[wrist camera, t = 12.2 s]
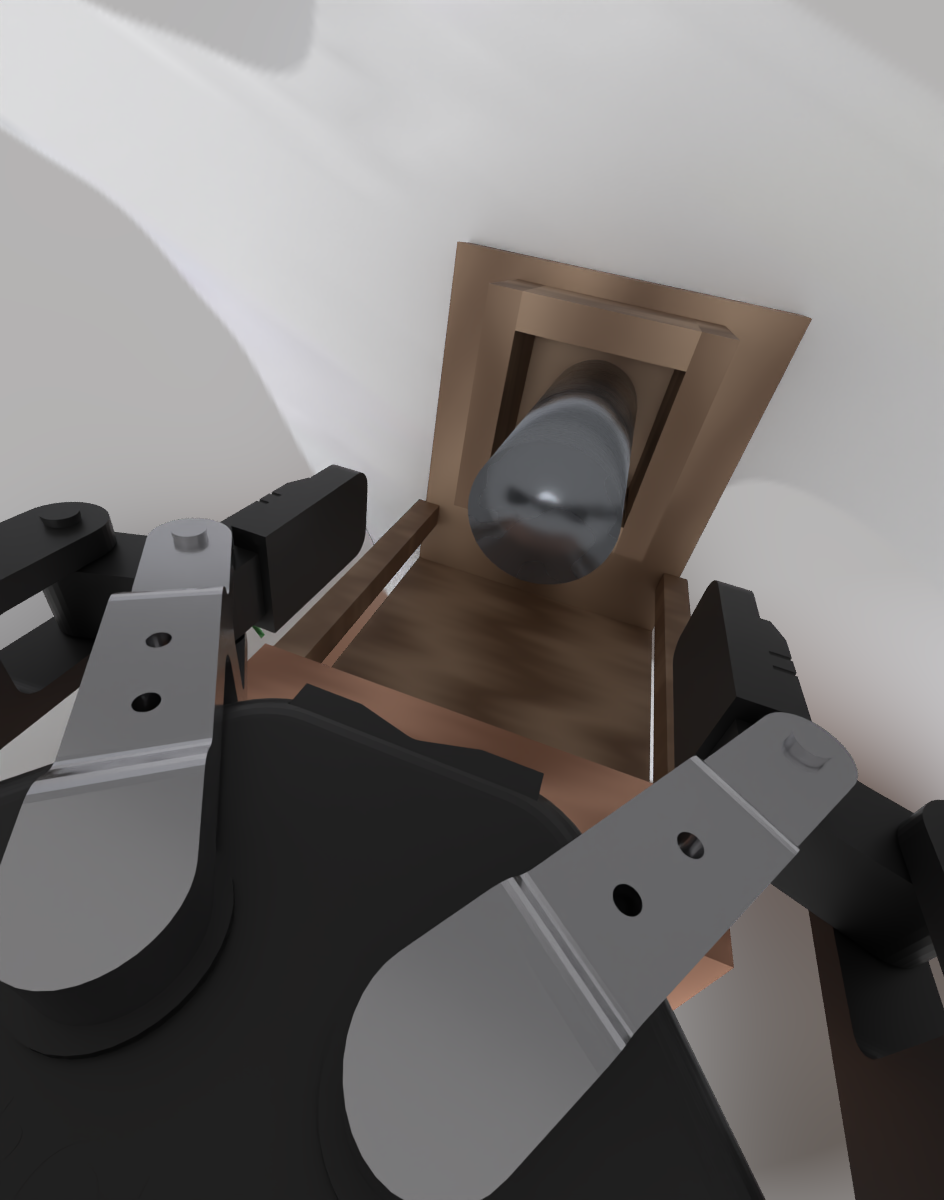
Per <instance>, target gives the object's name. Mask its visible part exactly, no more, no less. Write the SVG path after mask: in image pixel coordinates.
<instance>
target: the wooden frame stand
mask: <svg viewBox="0 0 944 1200" xmlns="http://www.w3.org/2000/svg"><path fill="white" fill-rule="evenodd" d="M811 320H812V319H811V318H809V317H806V316H803V315H799V314H795V313H790V312H785V311H781V310H776V309H772V308H767V307H762V306H758V305H753V304H749V303H744V302H739V301H735V300H730V299H726V298H721V297H716V296H712V295H707V294H703V293H698V292H693V291H689V290H684V289H680V288H675V287H670V286H666V285H661V284H656V283H652V282H647V281H643V280H638V279H633V278H629V277H624V276H620V275H615V274H610V273H606V272H601V271H597V270H592V269H587V268H583V267H578V266H574V265H569V264H564V263H560V262H555V261H551V260H546V259H541V258H537V257H532V256H527V255H523V254H518V253H514V252H509V251H504V250H500V249H495V248H491V247H486V246H481V245H477V244H472V243H466V242H457V250H456V258H455V267H454V275H453V283H452V291H451V300H450V308H449V316H448V324H447V333H446V341H445V349H444V358H443V366H442V374H441V382H440V391H439V399H438V407H437V415H436V424H435V432H434V440H433V449H432V457H431V465H430V473H429V482H428V490H427V498H426V501H423V500H420V499H419V500H418V501H417V502H416V503H415V504H414V505H413V506H412V507H411V508H410V509H409V510H408V511H407V512H406V513H405V514H404V515H403V516H402V517H401V518H400V519H399V520H398V521H397V522H396V523H395V524H394V525H393V526H392V527H391V528H390V529H389V530H388V531H387V532H386V533H385V534H384V535H383V536H382V537H381V538H380V539H379V540H378V541H377V542H376V543H375V544H374V545H373V546H372V547H371V548H370V549H369V551H368V552H367V553H366V554H365V555H364V556H363V557H362V558H361V559H360V560H359V561H358V562H357V563H356V564H355V565H354V566H353V567H352V568H351V569H350V570H349V571H348V572H347V573H346V574H345V575H344V576H343V577H342V578H341V579H340V580H339V581H338V582H337V583H336V584H335V585H334V586H333V587H332V588H331V589H330V590H329V591H328V592H327V593H326V594H325V595H324V596H323V597H322V598H321V599H320V600H319V601H318V602H317V603H316V604H315V605H314V606H313V607H312V608H311V609H310V610H309V611H308V612H307V613H306V614H305V615H304V616H303V617H302V618H301V619H300V620H299V621H298V622H297V623H296V624H295V625H294V626H293V627H292V628H291V629H290V630H289V631H288V632H287V633H286V634H285V635H284V636H283V637H282V638H281V639H280V640H279V641H278V642H277V643H276V644H275V645H274V646H271V645H269V644H266V643H265V644H264V645H263V646H262V647H261V648H260V649H259V650H258V651H257V652H256V653H255V654H254V655H253V656H252V657H251V658H250V659H249V660H248V667H247V700H252V699H262V698H284V699H294V697H295V696H296V695H297V694H298V693H299V692H300V690H301V689H302V688H303V687H304V686H305V684H306V683H308V684H311V685H313V686H316V687H319V688H321V689H324V690H326V691H329V692H332V693H334V694H337V695H340V696H342V697H345V698H347V699H350V700H353V701H355V702H358V703H361V704H362V705H364V706H365V707H367V708H368V709H370V710H371V711H373V712H374V713H376V714H377V715H378V716H380V717H381V718H383V719H384V720H386V721H387V722H389V723H390V724H392V725H393V726H395V727H396V728H397V729H399V730H400V731H402V732H403V733H405V734H406V735H408V736H409V737H411V738H413V739H416V740H420V741H426V742H433V743H439V744H446V745H453V746H460V747H466V748H473V749H480V750H484V751H486V752H489V753H492V754H494V755H497V756H500V757H502V758H505V759H507V760H510V761H513V762H515V763H518V764H521V765H523V766H526V767H528V768H531V769H534V770H536V771H539V772H542V773H544V776H543V780H542V784H541V788H540V793H539V794H541V795H542V796H543V797H545V798H546V799H548V800H549V801H551V802H552V803H553V804H554V805H555V806H556V807H558V808H559V809H560V810H561V811H562V812H563V813H564V814H565V815H566V816H567V817H568V818H569V819H570V820H571V821H572V822H573V823H574V824H575V825H576V826H577V828H578V829H579V830H580V832H581V833H582V834H583V833H584V832H586V831H587V830H588V829H590V828H591V827H593V826H594V825H596V824H597V823H598V822H600V821H601V820H603V819H604V818H606V817H607V816H608V815H610V814H611V813H613V812H614V811H615V810H617V809H618V808H620V807H621V806H623V805H624V804H625V803H627V802H628V801H630V800H631V799H633V798H634V797H635V796H637V795H638V794H640V793H641V792H642V791H644V790H645V789H647V788H648V787H650V786H651V785H652V784H654V783H655V782H657V781H658V780H660V779H661V778H662V777H664V776H665V775H667V774H668V773H669V772H671V771H672V770H674V769H675V767H674V708H673V656H674V652H675V648H676V645H677V642H678V640H679V638H680V636H681V634H682V632H683V630H684V628H685V626H686V625H687V623H688V621H689V619H690V617H691V616H690V615H691V614H690V603H689V593H688V581H687V580H686V579H683V578H680V575H681V573H682V572H683V570H684V568H685V566H686V563H687V562H688V560H689V558H690V556H691V554H692V552H693V550H694V548H695V546H696V544H697V542H698V540H699V538H700V536H701V534H702V532H703V531H704V529H705V527H706V525H707V523H708V521H709V519H710V517H711V515H712V513H713V511H714V509H715V507H716V505H717V503H718V501H719V499H720V497H721V495H722V493H723V492H724V490H725V488H726V486H727V484H728V482H729V480H730V478H731V476H732V474H733V472H734V470H735V468H736V466H737V464H738V462H739V460H740V458H741V456H742V454H743V453H744V451H745V449H746V447H747V445H748V443H749V441H750V439H751V437H752V435H753V433H754V431H755V429H756V427H757V425H758V423H759V421H760V419H761V417H762V415H763V413H764V412H765V410H766V408H767V406H768V404H769V402H770V400H771V398H772V396H773V394H774V392H775V390H776V388H777V386H778V384H779V382H780V380H781V378H782V376H783V374H784V372H785V371H786V369H787V367H788V365H789V363H790V361H791V359H792V357H793V355H794V353H795V351H796V349H797V347H798V345H799V343H800V341H801V339H802V337H803V335H804V333H805V332H806V330H807V328H808V326H809V324H810V322H811ZM586 360H602V361H607V362H610V363H612V364H614V365H616V366H618V367H619V368H621V369H622V370H623V371H624V372H625V373H626V374H627V375H628V376H629V378H630V379H631V381H632V383H633V385H634V387H635V390H636V394H637V413H636V421H635V428H634V435H633V443H632V450H631V457H630V465H629V472H628V480H627V487H626V494H625V502H624V509H623V517H622V524H621V530H620V534H619V537H618V540H617V543H616V545H615V547H614V549H613V550H612V552H611V553H610V555H609V556H608V558H607V559H606V560H605V561H604V562H603V563H602V564H601V565H600V566H599V567H598V568H596V569H595V570H594V571H592V572H591V573H589V574H588V575H586V576H584V577H582V578H580V579H577V580H574V581H571V582H567V583H562V584H553V585H547V584H536V583H531V582H527V581H523V580H520V579H518V578H515V577H513V576H511V575H509V574H507V573H506V572H504V571H503V570H501V569H500V568H498V567H497V566H496V565H495V564H493V563H492V562H491V561H490V560H489V559H488V558H487V557H486V555H485V554H484V553H483V551H482V550H481V549H480V547H479V546H478V544H477V542H476V540H475V538H474V536H473V533H472V531H471V527H470V524H469V517H468V501H469V495H470V491H471V487H472V485H473V482H474V480H475V478H476V476H477V475H478V473H479V471H480V470H481V469H482V468H483V466H484V465H485V464H486V463H487V461H488V460H489V459H490V458H491V457H492V455H493V454H494V453H495V452H496V451H497V450H498V448H499V447H500V446H501V445H502V444H503V442H504V441H505V440H506V439H507V438H508V436H509V435H510V434H511V433H512V432H513V430H514V429H515V428H516V427H517V426H518V425H519V423H520V422H521V421H522V420H523V419H524V417H525V416H526V415H527V414H528V413H529V411H530V410H531V409H532V408H533V407H534V405H535V404H536V403H537V402H538V401H539V399H540V398H541V397H542V396H543V395H544V394H545V392H546V391H547V390H548V389H549V388H550V386H551V385H552V384H553V383H554V382H555V380H556V379H557V378H558V377H559V376H560V375H561V374H562V373H563V372H564V371H565V370H566V369H568V368H569V367H571V366H573V365H574V364H577V363H579V362H583V361H586ZM420 544H421V548H420V556H419V558H418V560H417V561H416V562H415V563H414V565H413V566H412V567H411V568H410V570H409V571H408V572H407V573H406V575H405V576H404V577H403V578H402V580H401V581H400V582H399V583H398V584H397V586H396V587H395V588H394V589H393V591H392V592H391V593H390V594H389V596H388V597H387V598H386V600H385V601H384V602H383V603H382V605H381V606H380V607H379V608H378V609H377V611H376V612H375V613H374V615H373V616H372V617H371V618H370V620H369V621H368V622H367V623H366V624H365V626H364V627H363V629H361V631H360V632H359V633H358V635H357V636H356V637H355V638H354V639H353V641H352V642H351V643H350V645H349V646H348V647H347V648H346V650H345V651H344V652H343V653H342V654H341V656H340V657H339V658H338V659H337V661H336V662H335V663H334V665H333V666H332V667H329V666H327V665H324V664H321V663H322V662H323V660H324V659H325V658H326V657H327V656H328V654H329V653H330V652H331V651H332V650H333V648H334V647H335V646H336V645H337V644H338V642H339V641H340V640H341V639H342V638H343V636H344V635H345V634H346V633H347V632H348V630H349V629H350V628H351V627H352V626H353V624H354V623H355V622H356V621H357V620H358V618H359V617H360V616H361V615H362V614H363V612H364V611H365V610H366V609H367V608H368V606H369V605H370V604H371V603H372V602H373V600H374V599H375V598H376V597H377V596H378V594H379V593H380V592H381V591H382V590H383V588H384V587H385V586H386V585H387V584H388V582H389V581H390V580H391V579H392V578H393V577H394V575H395V574H396V573H397V572H398V571H399V569H400V568H401V567H402V566H403V565H404V563H405V562H406V561H407V560H408V559H409V557H410V556H411V555H412V554H413V553H414V551H415V550H416V549H417V548H418V547H419V545H420ZM654 626H655V647H654V650H655V651H654V652H655V653H654V757H653V783H650V720H651V659H652V630H653V628H654ZM733 968H734V964H733V955H732V946H731V936H730V928H729V929H728V930H727V931H726V932H725V934H724V935H723V936H722V937H721V938H720V939H719V940H718V941H717V942H716V943H715V945H714V946H713V947H712V948H711V949H710V950H709V951H708V952H707V953H706V954H705V956H704V957H703V958H702V959H701V960H700V961H699V962H698V963H697V964H696V965H695V967H694V968H693V969H692V970H691V971H690V972H689V973H688V974H687V975H686V977H685V978H684V979H683V980H682V981H681V982H680V983H679V984H678V985H677V986H676V988H675V989H674V990H673V991H672V992H671V993H670V994H669V995H668V996H667V999H668V1001H669V1003H670V1006H671V1008H672V1010H675V1009H676V1008H677V1007H679V1006H680V1005H682V1004H683V1003H685V1002H686V1001H687V1000H689V999H690V998H692V997H693V996H694V995H696V994H697V993H699V992H700V991H701V990H703V989H704V988H706V987H707V986H709V985H710V984H711V983H713V982H714V981H716V980H717V979H719V978H720V977H721V976H723V975H724V974H726V973H727V972H729V971H730V970H731V969H733Z"/></svg>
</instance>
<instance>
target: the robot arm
mask: <svg viewBox="0 0 944 1200" xmlns="http://www.w3.org/2000/svg"><path fill="white" fill-rule="evenodd" d="M366 511H367V478H366V476H365V474H363V473H361V472H358V471H354V470H351V469H348V468H344V467H341V466H338V465H331V466H329V467H327V468H325V469H324V470H322V471H321V472H319V473H317V474H316V475H314V476H312V477H311V478H306V479H302V480H298V481H294V482H290V483H287V484H285V485H283V486H282V487H280V488H278V489H276V490H275V491H273V492H272V494H268V495H266V496H265V497H263V498H261V499H260V501H259V502H258V501H256V502H254V503H253V504H251V505H249V506H247V507H245V508H244V509H242V510H240V511H239V512H237V513H235V514H233V515H232V516H230V517H228V518H227V519H225V520H223V521H221V522H218V521H214V520H210V519H203V518H186V519H178V520H174V521H170V522H167V523H164V524H162V525H160V526H158V527H156V528H155V529H153V530H152V531H151V532H150V533H149V534H148V536H144V535H136V534H127V533H119V532H114V530H113V526H112V523H111V520H110V517H109V514H108V512H107V511H106V510H105V509H104V508H102V507H100V506H97V505H94V504H90V503H83V502H64V503H54V504H49V505H44V506H41V507H37V508H34V509H31V510H29V511H27V512H24V513H22V514H19V515H17V516H15V517H13V518H10V519H8V520H5V521H3V522H1V523H0V615H1V614H3V613H4V612H6V611H7V610H9V609H11V608H13V607H14V606H16V605H18V604H20V603H21V602H23V601H25V600H27V599H28V598H30V597H32V596H33V595H35V594H37V593H39V592H40V591H42V590H43V593H44V595H45V597H46V599H47V602H48V604H49V606H50V608H51V610H52V613H53V615H54V617H53V618H51V619H50V620H48V621H47V622H45V623H43V624H41V625H40V626H39V627H37V628H35V629H33V630H32V631H30V632H29V633H28V634H26V635H24V636H22V637H21V638H19V639H18V640H16V641H14V642H13V643H11V644H10V645H8V646H7V647H5V648H3V649H2V650H0V750H1V749H2V748H3V747H5V746H6V745H7V744H8V743H10V742H11V741H12V740H13V739H15V738H16V737H17V736H19V735H20V734H21V733H22V732H24V731H25V730H26V729H27V728H29V727H30V726H31V725H33V724H34V723H35V722H36V721H38V720H39V719H40V718H41V717H43V716H44V715H45V714H46V713H48V712H49V711H50V710H52V709H53V708H54V707H55V706H57V705H58V704H59V703H60V702H62V701H63V700H64V699H65V698H67V697H68V696H69V695H71V694H72V693H73V692H74V691H76V690H77V689H78V688H79V690H78V693H77V696H76V699H75V702H74V705H73V708H72V711H71V714H70V717H69V720H68V723H67V726H66V729H65V732H64V735H63V738H62V741H61V744H60V747H59V750H58V753H57V756H56V759H55V761H54V763H52V764H49V765H46V766H43V767H40V768H37V769H34V770H31V771H29V772H26V773H23V774H20V775H17V776H14V777H11V778H8V779H5V780H2V781H0V1200H765V1198H764V1196H763V1194H762V1192H761V1190H760V1188H759V1186H758V1183H757V1181H756V1179H755V1177H754V1175H753V1173H752V1171H751V1169H750V1167H749V1165H748V1163H747V1161H746V1159H745V1157H744V1155H743V1153H742V1151H741V1149H740V1147H739V1145H738V1143H737V1140H736V1138H735V1137H734V1135H733V1132H732V1131H731V1128H730V1127H729V1124H728V1122H727V1120H726V1118H725V1116H724V1114H723V1112H722V1110H721V1108H720V1106H719V1104H718V1102H717V1100H716V1098H715V1095H714V1094H713V1091H712V1089H711V1087H710V1085H709V1083H708V1081H707V1079H706V1077H705V1075H704V1073H703V1071H702V1069H701V1067H700V1065H699V1063H698V1061H697V1059H696V1057H695V1055H694V1053H693V1050H692V1049H691V1046H690V1044H689V1042H688V1040H687V1038H686V1036H685V1034H684V1032H683V1030H682V1028H681V1026H680V1024H679V1022H678V1020H677V1018H676V1016H675V1014H674V1012H673V1010H672V1008H671V1006H670V1003H669V1001H668V999H667V996H668V995H669V994H670V993H671V992H672V991H673V990H674V989H675V988H676V986H677V985H678V984H679V983H680V982H681V981H682V980H683V979H684V978H685V977H686V975H687V974H688V973H689V972H690V971H691V970H692V969H693V968H694V967H695V965H696V964H697V963H698V962H699V961H700V960H701V959H702V958H703V957H704V956H705V954H706V953H707V952H708V951H709V950H710V949H711V948H712V947H713V946H714V945H715V943H716V942H717V941H718V940H719V939H720V938H721V937H722V936H723V935H724V934H725V932H726V931H727V930H728V929H729V928H730V927H731V926H732V925H733V924H734V923H735V921H736V920H737V919H738V918H739V917H740V916H741V915H742V914H743V913H744V911H745V910H746V909H747V908H748V907H749V906H750V905H751V904H752V903H753V901H755V899H756V898H757V897H758V896H759V895H760V894H761V893H762V892H763V891H764V889H765V888H766V887H767V886H768V885H769V884H770V883H771V884H772V885H773V886H775V887H777V888H778V889H779V890H781V891H782V892H784V893H785V894H787V895H788V896H789V897H791V898H792V899H794V900H795V901H797V902H798V903H799V904H801V905H802V906H804V907H805V908H807V909H808V910H809V916H810V921H811V928H812V934H813V941H814V947H815V952H816V959H817V965H818V971H819V977H820V983H821V990H822V996H823V1002H824V1008H825V1014H826V1021H827V1027H828V1033H829V1039H830V1045H831V1051H832V1057H833V1064H834V1070H835V1076H836V1082H837V1088H838V1094H839V1101H840V1107H841V1113H842V1119H843V1125H844V1132H845V1138H846V1144H847V1150H848V1156H849V1162H850V1169H851V1175H852V1181H853V1187H854V1193H855V1199H856V1200H944V1008H943V1005H942V1002H941V999H940V996H939V993H938V990H937V987H936V983H935V980H934V977H933V974H932V971H931V968H930V965H929V962H928V961H929V960H931V959H933V958H935V957H937V958H938V961H939V963H940V966H941V969H942V972H943V975H944V800H934V801H931V802H929V803H927V804H926V805H924V806H923V807H922V808H921V809H919V810H918V811H917V812H915V813H912V812H911V811H909V810H907V809H905V808H904V807H902V806H900V805H898V804H897V803H895V802H893V801H891V800H890V799H888V798H886V797H884V796H883V795H881V794H879V793H877V792H875V791H874V790H872V789H870V788H869V787H867V786H865V785H864V784H862V783H861V782H859V781H858V780H857V778H858V772H857V768H856V764H855V762H854V760H853V758H852V757H851V755H850V754H849V752H848V751H847V750H846V748H845V747H844V746H843V745H842V744H841V743H840V742H839V741H838V740H837V739H836V738H835V737H834V736H832V735H831V734H830V733H829V732H827V731H826V730H825V729H823V728H822V727H820V726H818V725H817V724H815V723H813V722H812V721H811V718H810V714H809V711H808V708H807V705H806V702H805V698H804V695H803V692H802V689H801V686H800V683H799V680H798V677H797V676H795V675H796V670H795V667H794V664H793V662H792V661H791V654H790V651H789V648H788V645H787V642H786V640H785V639H784V637H783V636H782V635H781V634H780V632H779V631H778V630H777V629H776V628H775V627H774V625H773V624H772V623H771V622H770V621H767V620H763V619H761V618H760V616H759V612H758V609H757V605H756V601H755V597H754V594H753V592H752V591H750V590H746V589H743V588H740V587H736V586H733V585H729V584H726V583H723V582H719V581H715V580H714V581H713V582H711V584H710V585H709V586H708V587H707V589H706V591H705V592H704V594H703V596H702V598H701V600H700V601H699V603H698V605H697V607H696V609H695V610H694V612H693V614H692V616H691V617H690V619H689V621H688V623H687V625H686V626H685V628H684V630H683V632H682V634H681V636H680V638H679V640H678V642H677V645H676V648H675V652H674V656H673V708H674V767H675V769H674V770H672V771H671V772H669V773H668V774H667V775H665V776H664V777H662V778H661V779H660V780H658V781H657V782H655V783H654V784H652V785H651V786H650V787H648V788H647V789H645V790H644V791H642V792H641V793H640V794H638V795H637V796H635V797H634V798H633V799H631V800H630V801H628V802H627V803H625V804H624V805H623V806H621V807H620V808H618V809H617V810H615V811H614V812H613V813H611V814H610V815H608V816H607V817H606V818H604V819H603V820H601V821H600V822H598V823H597V824H596V825H594V826H593V827H591V828H590V829H588V830H587V831H586V832H584V833H583V834H582V833H581V832H580V830H579V829H578V828H577V826H576V825H575V824H574V823H573V822H572V821H571V820H570V819H569V818H568V817H567V816H566V815H565V814H564V813H563V812H562V811H561V810H560V809H559V808H558V807H556V806H555V805H554V804H553V803H552V802H551V801H549V800H548V799H546V798H545V797H543V796H542V795H541V794H539V793H540V788H541V784H542V780H543V776H544V773H542V772H539V771H536V770H534V769H531V768H528V767H526V766H523V765H521V764H518V763H515V762H513V761H510V760H507V759H505V758H502V757H500V756H497V755H494V754H492V753H489V752H486V751H484V750H480V749H473V748H466V747H460V746H453V745H446V744H439V743H433V742H426V741H420V740H416V739H413V738H411V737H409V736H408V735H406V734H405V733H403V732H402V731H400V730H399V729H397V728H396V727H395V726H393V725H392V724H390V723H389V722H387V721H386V720H384V719H383V718H381V717H380V716H378V715H377V714H376V713H374V712H373V711H371V710H370V709H368V708H367V707H365V706H364V705H362V704H361V703H358V702H355V701H353V700H350V699H347V698H345V697H342V696H340V695H337V694H334V693H332V692H329V691H326V690H324V689H321V688H319V687H316V686H313V685H311V684H308V683H306V684H305V686H304V687H303V688H302V689H301V690H300V692H299V693H298V694H297V695H296V696H295V697H294V699H284V698H262V699H252V700H247V667H248V642H247V635H246V632H247V631H248V630H249V629H250V628H251V627H252V626H256V627H259V628H262V629H264V630H267V631H270V632H272V633H276V632H277V631H278V630H279V629H280V628H281V627H282V626H284V625H285V624H286V623H287V622H288V621H289V620H290V619H291V618H292V617H293V616H294V615H295V614H296V613H297V612H298V611H299V610H300V609H301V608H303V607H304V606H305V605H306V604H307V603H308V602H309V601H310V600H311V599H312V598H313V597H314V596H315V595H316V594H317V593H318V592H319V591H320V590H322V589H323V588H324V587H325V586H326V585H327V584H328V583H329V582H330V581H331V580H332V579H333V578H334V577H335V576H336V575H337V574H338V573H339V572H340V571H342V570H343V569H344V568H345V567H346V566H347V565H348V564H349V563H350V562H351V561H352V560H353V559H354V558H355V557H356V556H357V555H358V554H359V552H360V550H361V548H362V546H363V543H364V539H365V534H366Z"/></svg>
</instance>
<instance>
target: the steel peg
mask: <svg viewBox="0 0 944 1200" xmlns="http://www.w3.org/2000/svg"><path fill="white" fill-rule="evenodd" d="M636 413H637V394H636V390H635V387H634V385H633V383H632V381H631V379H630V378H629V376H628V375H627V374H626V373H625V372H624V371H623V370H622V369H621V368H619V367H618V366H616V365H614V364H612V363H610V362H607V361H602V360H586V361H583V362H579V363H577V364H574V365H573V366H571V367H569V368H568V369H566V370H565V371H564V372H563V373H562V374H561V375H560V376H559V377H558V378H557V379H556V380H555V382H554V383H553V384H552V385H551V386H550V388H549V389H548V390H547V391H546V392H545V394H544V395H543V396H542V397H541V398H540V399H539V401H538V402H537V403H536V404H535V405H534V407H533V408H532V409H531V410H530V411H529V413H528V414H527V415H526V416H525V417H524V419H523V420H522V421H521V422H520V423H519V425H518V426H517V427H516V428H515V429H514V430H513V432H512V433H511V434H510V435H509V436H508V438H507V439H506V440H505V441H504V442H503V444H502V445H501V446H500V447H499V448H498V450H497V451H496V452H495V453H494V454H493V455H492V457H491V458H490V459H489V460H488V461H487V463H486V464H485V465H484V466H483V468H482V469H481V470H480V471H479V473H478V475H477V476H476V478H475V480H474V482H473V485H472V487H471V491H470V495H469V501H468V517H469V524H470V527H471V531H472V533H473V536H474V538H475V540H476V542H477V544H478V546H479V547H480V549H481V550H482V551H483V553H484V554H485V555H486V557H487V558H488V559H489V560H490V561H491V562H492V563H493V564H495V565H496V566H497V567H498V568H500V569H501V570H503V571H504V572H506V573H507V574H509V575H511V576H513V577H515V578H518V579H520V580H523V581H527V582H531V583H536V584H547V585H553V584H562V583H567V582H571V581H574V580H577V579H580V578H582V577H584V576H586V575H588V574H589V573H591V572H592V571H594V570H595V569H596V568H598V567H599V566H600V565H601V564H602V563H603V562H604V561H605V560H606V559H607V558H608V556H609V555H610V553H611V552H612V550H613V549H614V547H615V545H616V543H617V540H618V537H619V534H620V530H621V524H622V517H623V509H624V502H625V494H626V487H627V480H628V472H629V465H630V457H631V450H632V443H633V435H634V428H635V421H636Z"/></svg>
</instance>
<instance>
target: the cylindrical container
mask: <svg viewBox="0 0 944 1200" xmlns="http://www.w3.org/2000/svg"><path fill="white" fill-rule="evenodd" d="M372 546H373V542H372V540H371V537H370V535H369V533H368V532H367V530H366V534H365V539H364V543H363V546H362V548H361V550H360V552H359V554H358V555H357V556H356V557H355V558H354V559H353V560H352V561H351V562H350V563H349V564H348V565H347V566H346V567H345V568H344V569H343V570H342V571H340V572H339V573H338V574H337V575H336V576H335V577H334V578H333V579H332V580H331V581H330V582H329V583H328V584H327V585H326V586H325V587H324V588H323V589H322V590H320V591H319V592H318V593H317V594H316V595H315V596H314V597H313V598H312V599H311V600H310V601H309V602H308V603H307V604H306V605H305V606H304V607H303V608H301V609H300V610H299V611H298V612H297V613H296V614H295V615H294V616H293V617H292V618H291V619H290V620H289V621H288V622H287V623H286V624H285V625H284V626H282V627H281V628H280V629H279V630H278V631H277V632H276V633H272V632H270V631H267V630H264V629H262V628H259V627H256V626H252V627H251V628H250V629H249V630H248V631H247V632H246V635H247V642H248V660H249V659H250V658H251V657H252V656H253V655H254V654H255V653H256V652H257V651H258V650H259V649H260V648H261V647H262V646H263V645H264V644H265V643H266V644H269V645H271V646H274V645H275V644H276V643H277V642H278V641H279V640H280V639H281V638H282V637H283V636H284V635H285V634H286V633H287V632H288V631H289V630H290V629H291V628H292V627H293V626H294V625H295V624H296V623H297V622H298V621H299V620H300V619H301V618H302V617H303V616H304V615H305V614H306V613H307V612H308V611H309V610H310V609H311V608H312V607H313V606H314V605H315V604H316V603H317V602H318V601H319V600H320V599H321V598H322V597H323V596H324V595H325V594H326V593H327V592H328V591H329V590H330V589H331V588H332V587H333V586H334V585H335V584H336V583H337V582H338V581H339V580H340V579H341V578H342V577H343V576H344V575H345V574H346V573H347V572H348V571H349V570H350V569H351V568H352V567H353V566H354V565H355V564H356V563H357V562H358V561H359V560H360V559H361V558H362V557H363V556H364V555H365V554H366V553H367V552H368V551H369V549H370V548H371V547H372ZM78 690H79V688H78V689H77V690H76V691H74V692H73V693H72V694H71V695H69V696H68V697H67V698H65V699H64V700H63V701H62V702H60V703H59V704H58V705H57V706H55V707H54V708H53V709H52V710H50V711H49V712H48V713H46V714H45V715H44V716H43V717H41V718H40V719H39V720H38V721H36V722H35V723H34V724H33V725H31V726H30V727H29V728H27V729H26V730H25V731H24V732H22V733H21V734H20V735H19V736H17V737H16V738H15V739H13V740H12V741H11V742H10V743H8V744H7V745H6V746H5V747H3V748H2V749H1V750H0V781H2V780H5V779H8V778H11V777H14V776H17V775H20V774H23V773H26V772H29V771H31V770H34V769H37V768H40V767H43V766H46V765H49V764H52V763H54V761H55V759H56V756H57V753H58V750H59V747H60V744H61V741H62V738H63V735H64V732H65V729H66V726H67V723H68V720H69V717H70V714H71V711H72V708H73V705H74V702H75V699H76V696H77V693H78Z"/></svg>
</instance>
